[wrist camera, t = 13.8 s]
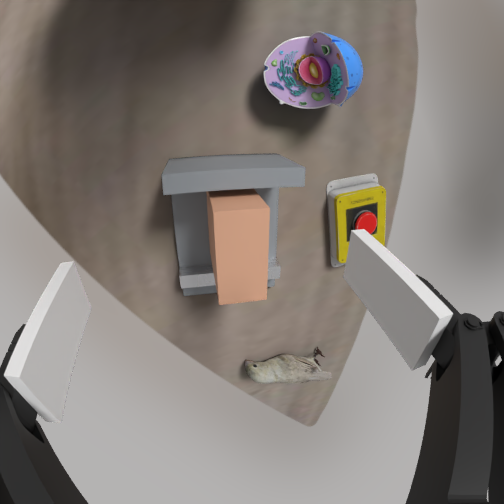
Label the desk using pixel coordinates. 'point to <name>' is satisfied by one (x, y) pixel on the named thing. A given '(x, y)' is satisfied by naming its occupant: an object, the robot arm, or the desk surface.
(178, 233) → the gray bracket stand
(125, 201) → the desk surface
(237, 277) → the cabinet block
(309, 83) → the cell model
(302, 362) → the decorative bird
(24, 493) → the robot arm
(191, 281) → the strip
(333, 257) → the emergency button
